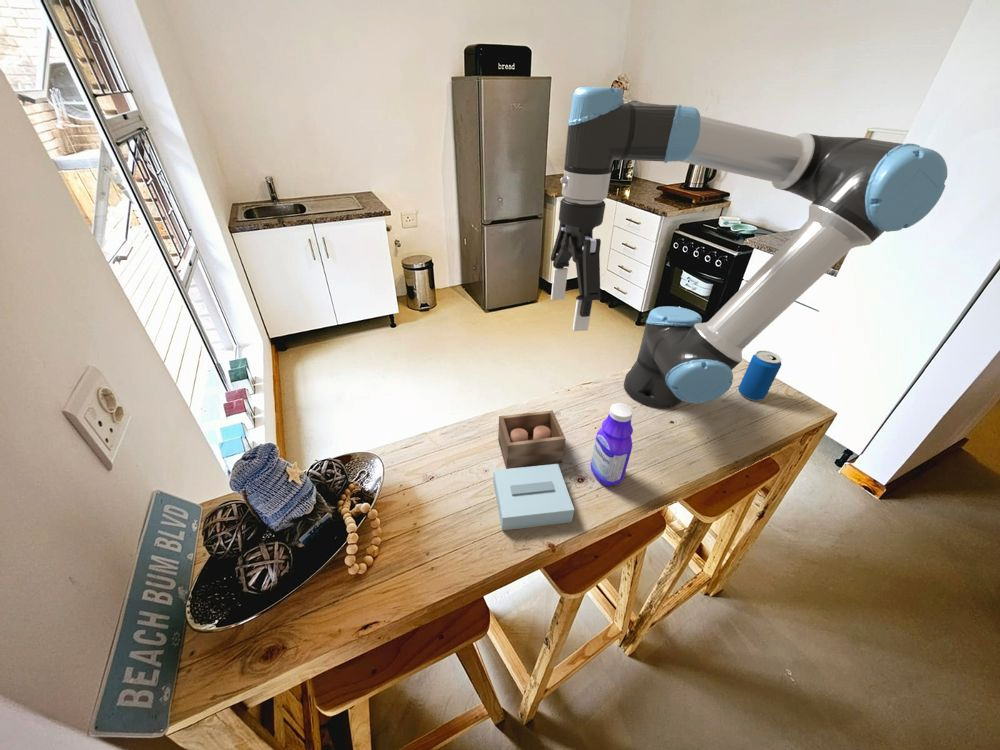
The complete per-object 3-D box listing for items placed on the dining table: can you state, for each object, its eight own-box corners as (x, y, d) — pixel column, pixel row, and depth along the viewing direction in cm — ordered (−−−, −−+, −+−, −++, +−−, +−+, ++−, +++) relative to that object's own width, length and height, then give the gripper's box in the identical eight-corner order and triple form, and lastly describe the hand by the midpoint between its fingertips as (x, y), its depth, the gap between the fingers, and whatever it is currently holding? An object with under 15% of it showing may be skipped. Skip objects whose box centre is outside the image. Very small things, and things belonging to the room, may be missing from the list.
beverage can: (769, 402, 107) (789, 364, 100) (744, 402, 106) (762, 363, 100) (756, 387, 112) (774, 350, 105) (732, 387, 112) (749, 349, 105)
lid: (555, 477, 85) (558, 462, 82) (571, 523, 76) (574, 508, 74) (493, 483, 83) (493, 468, 81) (501, 531, 74) (502, 516, 72)
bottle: (584, 466, 87) (597, 401, 77) (606, 458, 89) (622, 394, 79) (604, 492, 82) (621, 426, 72) (627, 483, 84) (647, 418, 74)
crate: (549, 433, 95) (552, 410, 91) (561, 462, 88) (565, 438, 84) (498, 439, 93) (499, 416, 89) (506, 470, 86) (507, 445, 82)
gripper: (541, 184, 79) (533, 288, 91) (589, 219, 59) (570, 347, 71) (578, 183, 80) (565, 287, 92) (638, 218, 60) (611, 343, 72)
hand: (567, 313), depth 81 cm, fingers open, 13 cm apart
